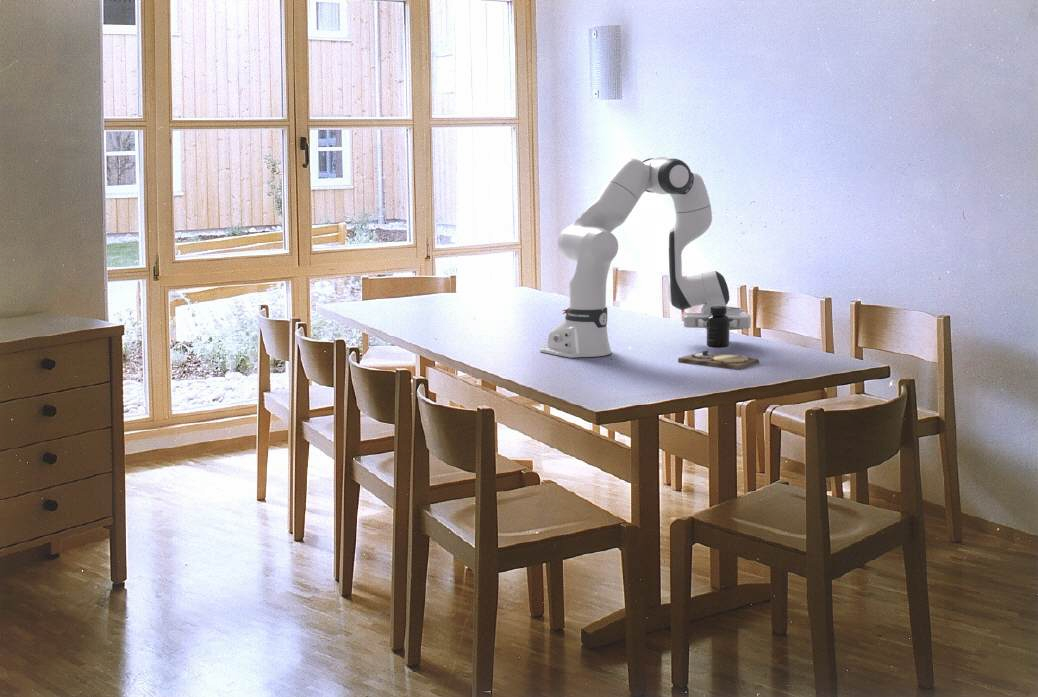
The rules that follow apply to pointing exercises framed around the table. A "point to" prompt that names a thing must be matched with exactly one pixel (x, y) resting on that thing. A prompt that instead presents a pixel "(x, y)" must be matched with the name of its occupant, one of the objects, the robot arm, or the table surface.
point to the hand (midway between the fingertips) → (718, 324)
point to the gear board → (719, 360)
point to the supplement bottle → (718, 327)
